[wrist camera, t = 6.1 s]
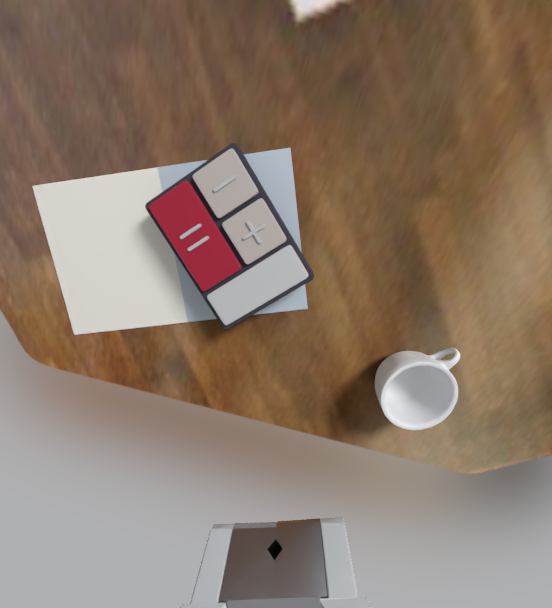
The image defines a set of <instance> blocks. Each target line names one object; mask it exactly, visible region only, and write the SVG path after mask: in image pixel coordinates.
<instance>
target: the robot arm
mask: <svg viewBox="0 0 552 608" xmlns="http://www.w3.org/2000/svg"><path fill="white" fill-rule="evenodd" d="M321 530H322V531H321ZM180 608H374V607H373V606H372V604H371V603H370V602H369V601H368V599H367V598H366V597H358V594H357V589H356V583H355V578H354V572H353V567H352V561H351V556H350V550H349V544H348V539H347V534H346V528H345V523H344V520H343V518H342V517H338V518H323V519H321V523H320V519H307V520H293V521H279V522H268V523H235V524H214V525H213V527H212V529H211V531H210V534H209V537H208V540H207V544H206V548H205V551H204V555H203V559H202V562H201V566H200V569H199V573H198V577H197V580H196V584H195V588H194V591H193V595H192V598H191V602H190V604H183V605H182V606H181V607H180Z"/></svg>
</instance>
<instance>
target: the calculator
mask: <svg viewBox="0 0 552 608" xmlns="http://www.w3.org/2000/svg"><path fill="white" fill-rule="evenodd" d="M145 208H146V210H147V211H148V213H149V215H150V216H151V218H152V219H153V221H154V222H155V224H156V225H157V227H158V229H159V230H160V232H161V233H162V235H163V236H164V238H165V239H166V241H167V242H168V244H169V246H170V247H171V249H172V250H173V252H174V253H175V255H176V256H177V258H178V259H179V261H180V263H181V264H182V266H183V267H184V269H185V270H186V272H187V273H188V275H189V276H190V278H191V280H192V281H193V283H194V284H195V286H196V287H197V289H198V290H199V292H200V293H201V295H202V297H203V298H204V300H205V301H206V303H207V304H208V306H209V307H210V309H211V310H212V312H213V314H214V315H215V317H216V318H217V320H218V321H219V323H220V324H221V326H222V327H223V328H224V329H226V330H227V329H230V328H231V327H233V326H235V325H236V324H238V323H240V322H241V321H243V320H245V319H247V318H248V317H250V316H252V315H253V314H255V313H257V312H258V311H260V310H262V309H264V308H265V307H267V306H269V305H270V304H272V303H274V302H275V301H277V300H279V299H280V298H282V297H284V296H286V295H287V294H289V293H291V292H292V291H294V290H296V289H297V288H299V287H301V286H303V285H304V284H306V283H308V282H309V281H311V280H312V279H313V278H314V274H313V271H312V270H311V268H310V266H309V264H308V263H307V261H306V259H305V258H304V256H303V254H302V253H301V251H300V249H299V247H298V246H297V244H296V242H295V241H294V239H293V237H292V236H291V234H290V232H289V231H288V229H287V227H286V225H285V224H284V222H283V220H282V219H281V217H280V215H279V214H278V212H277V210H276V209H275V207H274V205H273V203H272V202H271V200H270V198H269V197H268V195H267V193H266V192H265V190H264V188H263V186H262V185H261V183H260V181H259V180H258V178H257V176H256V175H255V173H254V171H253V170H252V168H251V166H250V164H249V163H248V161H247V159H246V158H245V156H244V154H243V153H242V151H241V149H240V148H239V146H238V145H237V144H235V143H232V144H230V145H229V146H228V147H226V148H225V149H223V150H222V151H220V152H219V153H217V154H216V155H215V156H213V157H212V158H210V159H209V160H207V161H206V162H205V163H203V164H202V165H200V166H199V167H197V168H196V169H195V170H193V171H192V172H190V173H189V174H187V175H186V176H185V177H183V178H182V179H180V180H179V181H177V182H176V183H174V184H173V185H172V186H170V187H169V188H167V189H166V190H164V191H163V192H162V193H160V194H159V195H157V196H156V197H154V198H153V199H152V200H150V201H149V202H147V203H146V205H145Z"/></svg>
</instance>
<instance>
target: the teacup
mask: <svg viewBox="0 0 552 608" xmlns="http://www.w3.org/2000/svg"><path fill="white" fill-rule="evenodd" d="M450 353H455V355H454V357H453V358H452V359H450V360H445V361H442V360H440V359H441V358H442V357H443V356H445V355H447V354H450ZM459 359H460V353H459V352H458V350H457V349H455V348H449V349H445V350H442V351H440V352H438V353H435V354H433V355H425V354H423V353H420V352H415V351H401V352H397V353H394V354H392V355H390V356H389V357H387V358H386V359H385V360H384V361H383V362H382V363H381V364H380V366H379V367H378V369H377V372H376V376H375V391H376V395H377V398H378V401H379V403H380V406H381V408H382V410H383V412H384V414H385V416H386V417H387V418H388V420H389V421H391V422H392V423H393V424H395V425H396V426H398V427H401V428H404V429H408V430H422V429H426V428H430V427H432V426H434V425H436V424H438V423H440V422H441V421H443V420H444V419H445V418H446V417H447V416H448V415H449V414H450V413H451V411H452V410H453V408H454V406H455V404H456V402H457V398H458V386H457V382H456V380H455V378H454V376H453V375H452V374H451V372H450V371H449V369H450V368H451V367H453V366H454V365H455V364H456V363H457V362H458V361H459Z"/></svg>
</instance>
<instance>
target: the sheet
mask: <svg viewBox="0 0 552 608" xmlns="http://www.w3.org/2000/svg"><path fill="white" fill-rule="evenodd" d="M244 156H245V158H246V159H247V161H248V163H249V164H250V166H251V168H252V170H253V171H254V173H255V175H256V176H257V178H258V180H259V181H260V183H261V185H262V186H263V188H264V190H265V192H266V193H267V195H268V197H269V198H270V200H271V202H272V203H273V205H274V207H275V209H276V210H277V212H278V214H279V215H280V217H281V219H282V220H283V222H284V224H285V225H286V227H287V229H288V231H289V232H290V234H291V236H292V237H293V239H294V241H295V242H296V244H297V246H298V247H299V249H300V251H301V242H300V233H299V224H298V214H297V205H296V196H295V186H294V177H293V168H292V159H291V149H290V148H285V149H279V150H272V151H265V152H258V153H252V154H245V155H244ZM206 161H207V160H204V161H198V162H191V163H184V164H177V165H171V166H164V167H157V168H150V169H144V170H137V171H130V172H123V173H117V174H110V175H103V176H96V177H90V178H83V179H76V180H69V181H63V182H56V183H49V184H42V185H36V186H32V187H33V190H34V194H35V198H36V201H37V205H38V208H39V212H40V215H41V219H42V222H43V226H44V229H45V233H46V236H47V240H48V244H49V247H50V251H51V254H52V258H53V261H54V265H55V268H56V272H57V275H58V279H59V282H60V286H61V290H62V293H63V297H64V300H65V304H66V307H67V311H68V314H69V318H70V321H71V325H72V328H73V332H74V335H78V334H87V333H96V332H104V331H113V330H122V329H131V328H140V327H149V326H158V325H167V324H176V323H185V322H194V321H203V320H212V319H217V318H216V317H215V315H214V314H213V312H212V310H211V309H210V307H209V306H208V304H207V303H206V301H205V300H204V298H203V297H202V295H201V293H200V292H199V290H198V289H197V287H196V286H195V284H194V283H193V281H192V280H191V278H190V276H189V275H188V273H187V272H186V270H185V269H184V267H183V266H182V264H181V263H180V261H179V259H178V258H177V256H176V255H175V253H174V252H173V250H172V249H171V247H170V246H169V244H168V242H167V241H166V239H165V238H164V236H163V235H162V233H161V232H160V230H159V229H158V227H157V225H156V224H155V222H154V221H153V219H152V218H151V216H150V215H149V213H148V211H147V210H146V208H145V205H146V203H147V202H149V201H150V200H152V199H153V198H154V197H156V196H157V195H159V194H160V193H162V192H163V191H164V190H166V189H167V188H169V187H170V186H172V185H173V184H174V183H176V182H177V181H179V180H180V179H182V178H183V177H185V176H186V175H187V174H189V173H190V172H192V171H193V170H195V169H196V168H197V167H199V166H200V165H202V164H203V163H205V162H206ZM301 253H302V251H301ZM301 309H308V307H307V298H306V288H305V284H304V285H303V286H301V287H299V288H297V289H296V290H294V291H292V292H291V293H289V294H287V295H286V296H284V297H282V298H280V299H279V300H277V301H275V302H274V303H272V304H270V305H269V306H267V307H265V308H264V309H262V310H260V311H258V312H257V313H255V314H253V315H256V314H265V313H274V312H283V311H292V310H301Z"/></svg>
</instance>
